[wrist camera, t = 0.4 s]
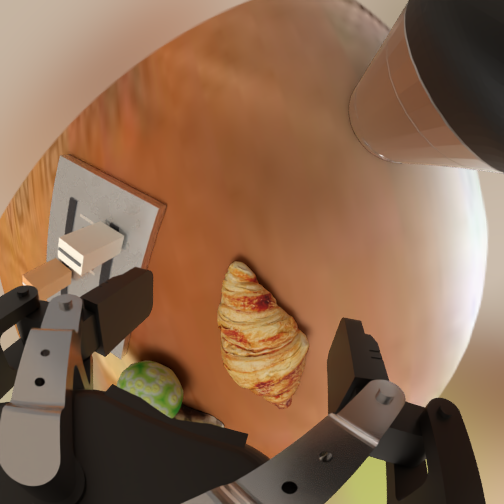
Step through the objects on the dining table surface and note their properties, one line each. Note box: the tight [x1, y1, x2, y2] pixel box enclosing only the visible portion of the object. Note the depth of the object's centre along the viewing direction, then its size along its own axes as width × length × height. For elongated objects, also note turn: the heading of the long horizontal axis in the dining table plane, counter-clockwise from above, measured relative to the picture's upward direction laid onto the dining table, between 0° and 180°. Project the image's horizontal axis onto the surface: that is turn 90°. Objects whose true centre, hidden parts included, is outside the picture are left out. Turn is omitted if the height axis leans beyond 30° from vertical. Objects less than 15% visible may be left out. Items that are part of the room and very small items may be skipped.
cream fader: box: [58, 221, 124, 276], centre depth 26 cm, size 2×4×7 cm, turn 65°
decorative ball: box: [117, 360, 183, 418], centre depth 34 cm, size 10×10×10 cm
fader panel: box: [47, 155, 167, 359], centre depth 33 cm, size 26×18×2 cm
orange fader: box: [22, 258, 72, 301], centre depth 30 cm, size 2×4×7 cm, turn 65°
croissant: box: [217, 261, 309, 409], centre depth 30 cm, size 21×10×8 cm, turn 19°
